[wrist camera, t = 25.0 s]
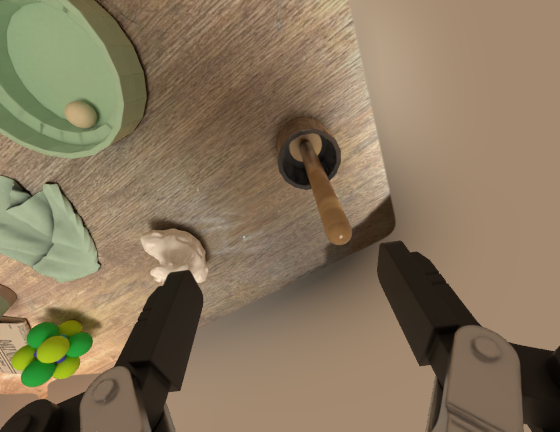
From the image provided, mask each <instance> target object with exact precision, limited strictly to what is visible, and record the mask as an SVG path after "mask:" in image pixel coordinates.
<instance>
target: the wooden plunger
mask: <svg viewBox="0 0 560 432" xmlns="http://www.w3.org/2000/svg"><path fill="white" fill-rule="evenodd" d="M288 146H289V150H290V153H291V155H292V156H293V158H295V159H296V160H298V161H301V162H304V165H305V169H306V172H307V175H308V178H309V181H310V185H311V188H312V191H313V194H314V197H315V200H316V204H317V207H318V210H319V213H320V216H321V220H322V223H323V226H324V229H325V232H326V235H327V238H328V240H329V241H330V242H332V243H333V244H336V245H342V244H345V243H347V242H348V241H349V240H350V238H351V236H352V229H351V226H350V224H349V222H348V220H347V218H346V216H345V214H344V212H343V209H342V207H341V205H340V203H339V201H338V199H337V197H336V194H335V192H334V190H333V188H332V186H331V184H330V182H329V180H328V177H327V175H326V173H325V171H324V169H323V167H322V165H321V163H320V160H319V158H318V154H319V153H320V151H321V147H322V142H321V138H320V136H319V135H317V134H313V133H312V134H306V135H301V136H299V137H298V138H296V139H294V140H293V141H291V143H290V144H289V145H288Z"/></svg>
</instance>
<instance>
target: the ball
mask: <svg viewBox="0 0 560 432" xmlns="http://www.w3.org/2000/svg"><path fill="white" fill-rule="evenodd" d="M64 113H65V116H66V118H67V120H68V121H69V122H70V123H71V124H73V125H74V126H76V127H79V128H90V127H92V126H94V125H95V123H96V121H97V115H96V112H95V111H94V109H93V108H92V107H91V106H90V105H88V104H86V103H84V102H81V101H73V102H70V103H68V104H67V105H66V107H65V110H64Z"/></svg>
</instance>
